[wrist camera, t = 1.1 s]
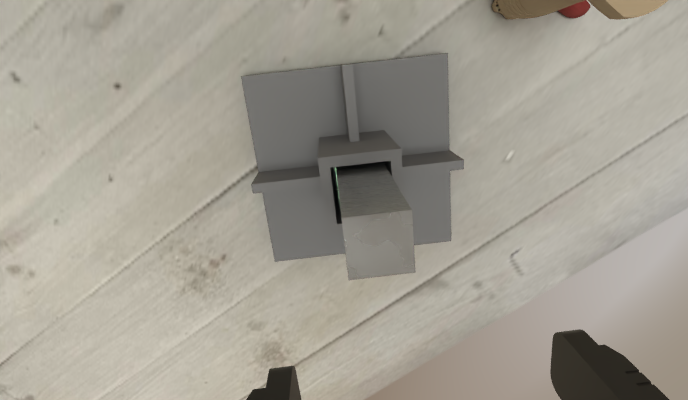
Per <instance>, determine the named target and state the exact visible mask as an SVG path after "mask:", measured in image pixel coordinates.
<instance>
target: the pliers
mask: <svg viewBox="0 0 688 400" xmlns="http://www.w3.org/2000/svg"><path fill="white" fill-rule="evenodd" d="M589 8H590V4H589V3H588V2H587V1H586V0H585V1H582V2H579V3H576V4H574V5H571V6H568V7H566V8H563V9H560V10H558V11H559V12H560V13H562V14H563V15H564V16H566V17H569V18H577V17H580V16H582V15H584V14H585V13H586V12H587V11H588V10H589Z"/></svg>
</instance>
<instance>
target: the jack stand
mask: <svg viewBox="0 0 688 400" xmlns="http://www.w3.org/2000/svg"><path fill="white" fill-rule="evenodd" d="M241 78H242V84H243V89H244V95H245V100H246V106H247V111H248V117H249V122H250V128H251V133H252V139H253V144H254V150H255V155H256V160H257V166H258V171H259V173H258V174H257V176H256V177H255V179H254V181H253V182H252V184H251V186H252V191H253V193H263V199H264V204H265V210H266V215H267V221H268V226H269V232H270V237H271V242H272V248H273V253H274V259H275V262H276V261H285V260H293V259H302V258H310V257H319V256H327V255H336V254H344V253H345V244H344V235H343V227H342V218H341V209H340V206H339V197H338V188H337V180H336V171H335V167H340V166H349V165H358V164H366V163H375V162H383V163H384V165H385V166H386V168H387V170H388V171H389V173H390V174H391V176H392V178H393V179H394V181H395V183H396V184H397V186H398V188H399V189H400V191H401V193H402V194H403V196H404V198H405V199H406V201H407V202H408V204H409V206H410V207H411V209H412V219H413V238H414V245H421V244H429V243H438V242H446V241H451V205H450V171H452V170H461V169H464V160H463V159H462V158H460V157H459V156H457V155H456V154H454V153H453V152H451V151H450V150H449V98H448V53H444V54H435V55H426V56H417V57H408V58H399V59H391V60H382V61H373V62H364V63H355V64H346V65H337V66H328V67H319V68H310V69H302V70H293V71H284V72H275V73H266V74H257V75H248V76H241Z"/></svg>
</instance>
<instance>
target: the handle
mask: <svg viewBox="0 0 688 400" xmlns="http://www.w3.org/2000/svg"><path fill="white" fill-rule="evenodd" d="M582 1H585V0H494V3H493V4H492V8H493V10H494V12H499V13H501V14H502V15H504V16H505V18H506V19H516V18H523V19H524V18H533V17H539V16H543V15H547V14H550V13H552V12H555V11H558V10H560V9H563V8H566V7H568V6H571V5H574V4H576V3H579V2H582ZM588 1H589V2H590V3H591V4H592V5H593V6H594V7H595V8H596V9H598V10H599V11H600V12H601V13H603V14H604V15H605V16H607V17H608V18H609V19H628V18H634V17H639V16H642V15H645V14H648V13H650V12H652V11H654V10H656V9H657V8H659V7H660V6H662V5H663V4H664V3H666V2H667V1H668V0H588Z"/></svg>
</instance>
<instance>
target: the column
mask: <svg viewBox="0 0 688 400" xmlns="http://www.w3.org/2000/svg"><path fill="white" fill-rule="evenodd" d="M335 171H336V180H337V188H338V197H339V206H340V209H341V218H342V227H343V235H344V244H345V253H346V261H347V270H348V278H349V280H355V279H364V278H372V277H380V276H389V275H397V274H406V273H414V272H415V257H414V238H413V219H412V209H411V207H410V206H409V204H408V202H407V201H406V199H405V198H404V196H403V194H402V193H401V191H400V189H399V188H398V186H397V184H396V183H395V181H394V179H393V178H392V176H391V174H390V173H389V171H388V170H387V168H386V166H385V165H384V163H383V162H375V163H366V164H358V165H349V166H340V167H335Z"/></svg>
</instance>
